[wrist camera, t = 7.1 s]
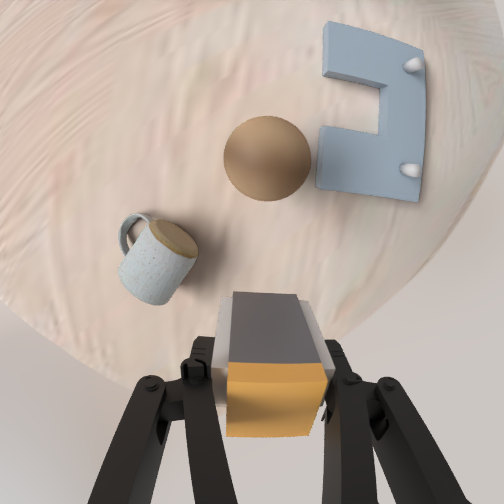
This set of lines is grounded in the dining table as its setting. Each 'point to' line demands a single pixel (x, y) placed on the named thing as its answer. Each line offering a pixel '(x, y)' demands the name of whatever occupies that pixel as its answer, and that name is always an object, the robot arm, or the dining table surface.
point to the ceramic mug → (155, 259)
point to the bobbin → (267, 158)
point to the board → (390, 116)
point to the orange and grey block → (271, 368)
